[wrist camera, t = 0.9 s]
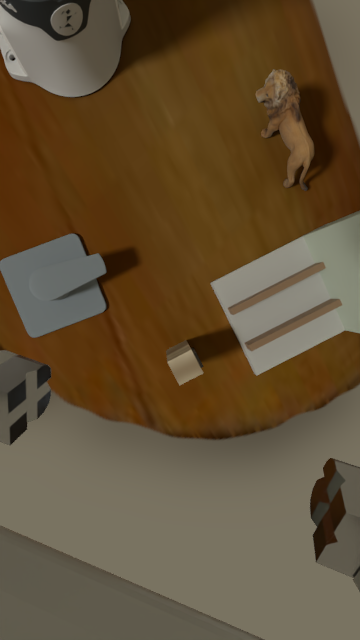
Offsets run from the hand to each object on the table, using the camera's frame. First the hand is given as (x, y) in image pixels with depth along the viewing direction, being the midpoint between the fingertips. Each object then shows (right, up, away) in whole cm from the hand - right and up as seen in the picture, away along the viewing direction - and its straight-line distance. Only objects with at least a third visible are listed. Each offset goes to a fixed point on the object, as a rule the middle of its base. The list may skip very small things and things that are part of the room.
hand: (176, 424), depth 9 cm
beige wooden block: (0, -3, +41) cm, 42 cm away
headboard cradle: (+17, +6, +42) cm, 46 cm away
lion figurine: (+15, +29, +40) cm, 51 cm away
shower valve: (-18, +9, +40) cm, 45 cm away
